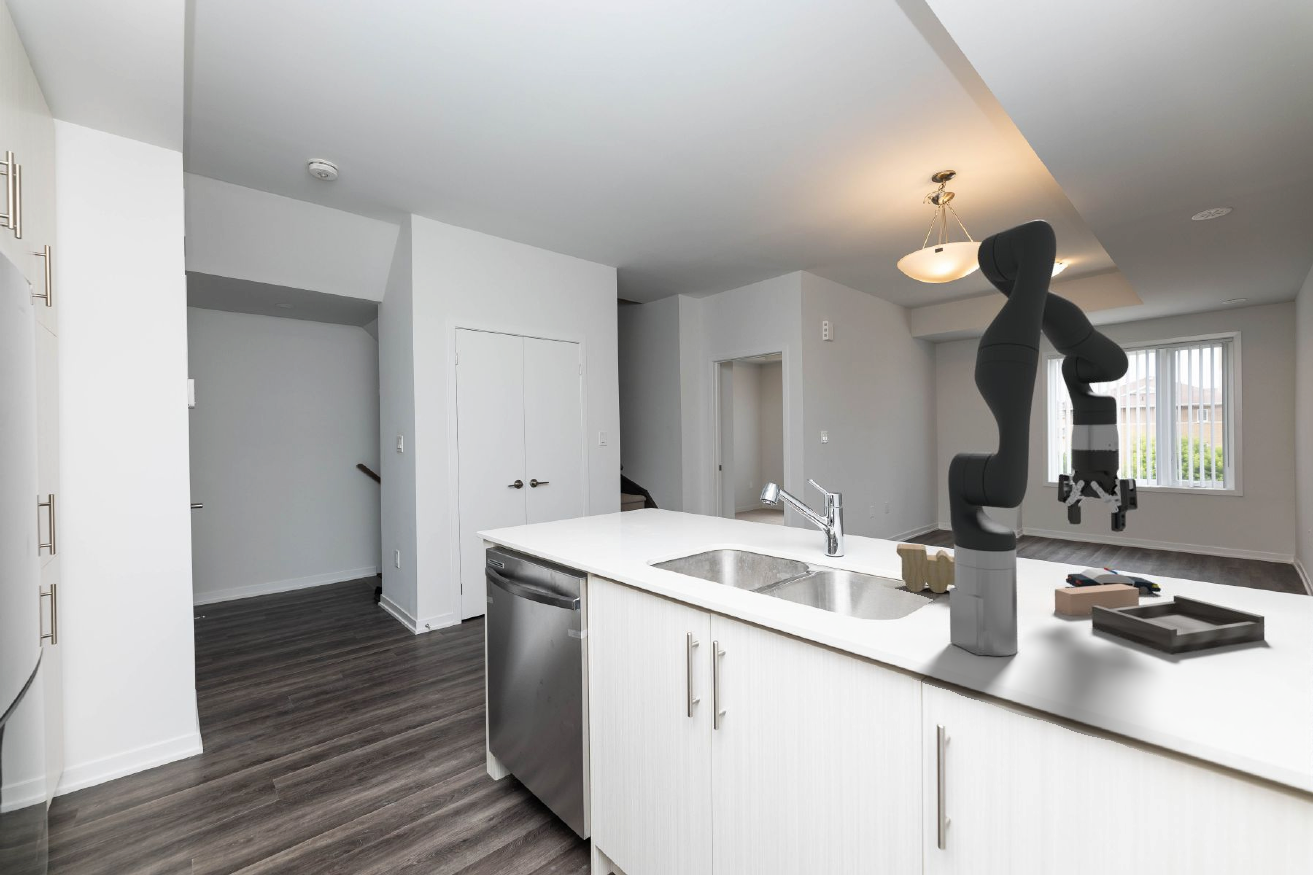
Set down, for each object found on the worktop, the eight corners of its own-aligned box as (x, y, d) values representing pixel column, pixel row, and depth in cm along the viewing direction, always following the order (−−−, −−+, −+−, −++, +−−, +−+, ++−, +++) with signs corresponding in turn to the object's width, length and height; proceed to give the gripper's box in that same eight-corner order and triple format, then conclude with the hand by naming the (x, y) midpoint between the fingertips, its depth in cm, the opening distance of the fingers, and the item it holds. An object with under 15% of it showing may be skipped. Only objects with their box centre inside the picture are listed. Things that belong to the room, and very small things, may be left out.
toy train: (981, 598, 124) (980, 552, 124) (896, 590, 131) (896, 547, 131) (978, 591, 129) (978, 547, 129) (897, 584, 136) (896, 542, 136)
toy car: (1161, 596, 123) (1160, 573, 123) (1077, 593, 126) (1077, 571, 126) (1145, 589, 128) (1145, 567, 128) (1066, 587, 131) (1065, 566, 131)
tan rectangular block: (1070, 616, 111) (1070, 594, 111) (1055, 611, 115) (1054, 589, 115) (1138, 610, 114) (1138, 588, 114) (1121, 605, 118) (1121, 583, 118)
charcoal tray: (1171, 654, 92) (1171, 629, 92) (1092, 627, 105) (1092, 605, 105) (1264, 639, 97) (1264, 616, 97) (1178, 615, 110) (1178, 595, 110)
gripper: (1047, 447, 120) (1048, 523, 120) (1117, 449, 106) (1118, 535, 107) (1075, 445, 122) (1076, 520, 122) (1147, 447, 108) (1148, 532, 108)
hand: (1095, 527), depth 114 cm, fingers open, 8 cm apart
